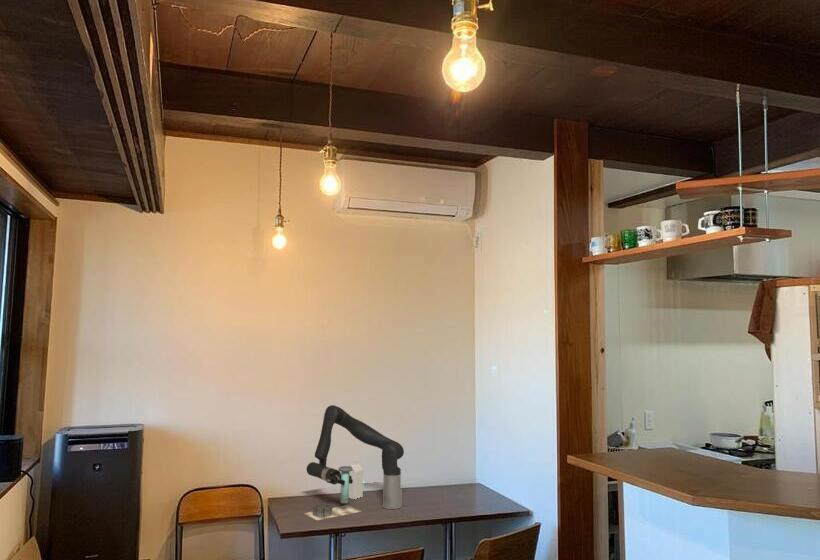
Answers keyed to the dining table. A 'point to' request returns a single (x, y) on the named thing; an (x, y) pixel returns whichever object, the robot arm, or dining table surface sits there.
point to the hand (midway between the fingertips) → (348, 482)
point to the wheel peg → (345, 487)
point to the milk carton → (356, 481)
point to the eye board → (334, 513)
